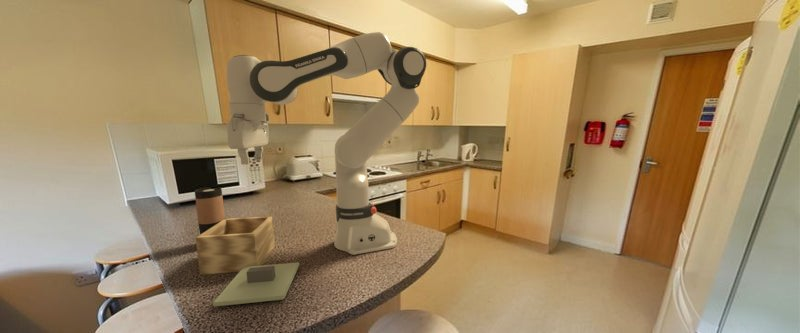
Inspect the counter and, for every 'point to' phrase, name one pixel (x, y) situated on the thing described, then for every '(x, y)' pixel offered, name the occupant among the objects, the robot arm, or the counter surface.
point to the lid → (258, 284)
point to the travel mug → (209, 207)
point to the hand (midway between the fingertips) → (252, 162)
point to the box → (235, 244)
